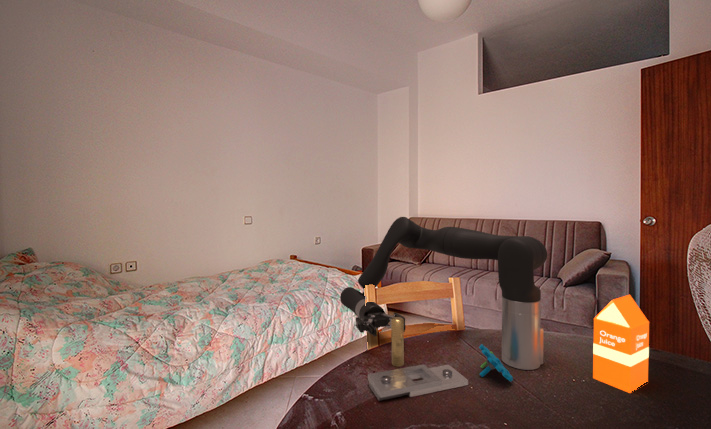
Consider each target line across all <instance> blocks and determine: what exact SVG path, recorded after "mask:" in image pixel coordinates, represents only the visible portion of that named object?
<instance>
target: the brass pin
mask: <svg viewBox="0 0 711 429" xmlns="http://www.w3.org/2000/svg"><path fill="white" fill-rule="evenodd" d="M390 331H391V334H390V335H391V365H392V366H393V367H398V368H399V367H403V366H404V365H405V359H404V358H405V356H404V354H405V351H404V350H405V349H404V348H405V346H404V342H405V341H404V340H405V338H404V334H405V332H404V324H403V318H401V317H393V318H391V328H390Z"/></svg>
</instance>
